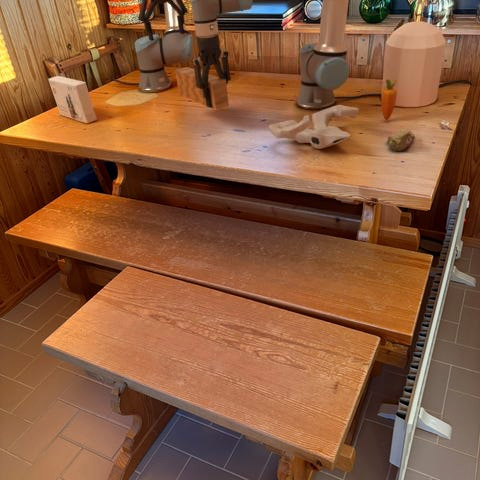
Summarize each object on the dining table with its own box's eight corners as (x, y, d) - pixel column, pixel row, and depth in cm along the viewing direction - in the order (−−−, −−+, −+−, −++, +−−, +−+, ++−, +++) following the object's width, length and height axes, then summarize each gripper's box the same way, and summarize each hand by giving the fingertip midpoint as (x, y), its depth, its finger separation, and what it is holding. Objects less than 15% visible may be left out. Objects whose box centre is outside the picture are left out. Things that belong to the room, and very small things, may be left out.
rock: (408, 140, 153) (379, 139, 152) (414, 122, 149) (384, 120, 148) (421, 154, 144) (391, 153, 143) (428, 135, 140) (396, 133, 139)
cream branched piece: (267, 156, 148) (265, 121, 142) (278, 128, 170) (277, 96, 163) (357, 157, 142) (360, 119, 136) (357, 127, 164) (359, 94, 157)
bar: (179, 94, 182) (174, 70, 177) (191, 90, 185) (187, 66, 179) (216, 110, 163) (212, 83, 157) (229, 106, 165) (225, 79, 160)
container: (406, 111, 172) (416, 29, 156) (369, 96, 188) (375, 22, 172) (449, 99, 178) (463, 20, 162) (410, 86, 194) (419, 13, 178)
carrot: (394, 118, 167) (398, 76, 158) (393, 123, 163) (397, 80, 154) (379, 117, 168) (383, 75, 160) (378, 122, 165) (382, 80, 156)
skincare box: (58, 115, 201) (47, 78, 192) (69, 111, 204) (58, 75, 195) (86, 124, 189) (75, 85, 180) (97, 119, 192) (87, 81, 183)
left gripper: (129, -20, 163) (142, 44, 175) (191, -29, 174) (198, 31, 186) (121, -21, 168) (134, 41, 180) (181, -30, 179) (189, 29, 191)
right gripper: (188, 43, 146) (199, 114, 160) (236, 31, 154) (243, 99, 167) (177, 40, 152) (189, 109, 165) (224, 28, 159) (232, 95, 173)
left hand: (166, 36), depth 183 cm, fingers open, 13 cm apart
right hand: (216, 104), depth 166 cm, fingers closed on bar, 5 cm apart
